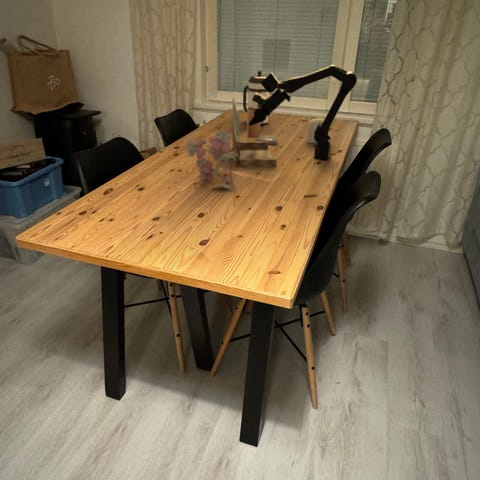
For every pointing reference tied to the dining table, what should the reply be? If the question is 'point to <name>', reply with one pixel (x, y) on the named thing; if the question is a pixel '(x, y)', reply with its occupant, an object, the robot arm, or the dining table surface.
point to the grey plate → (268, 139)
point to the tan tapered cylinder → (254, 129)
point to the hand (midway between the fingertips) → (250, 123)
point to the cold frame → (250, 148)
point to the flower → (219, 152)
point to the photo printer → (312, 127)
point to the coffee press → (254, 91)
